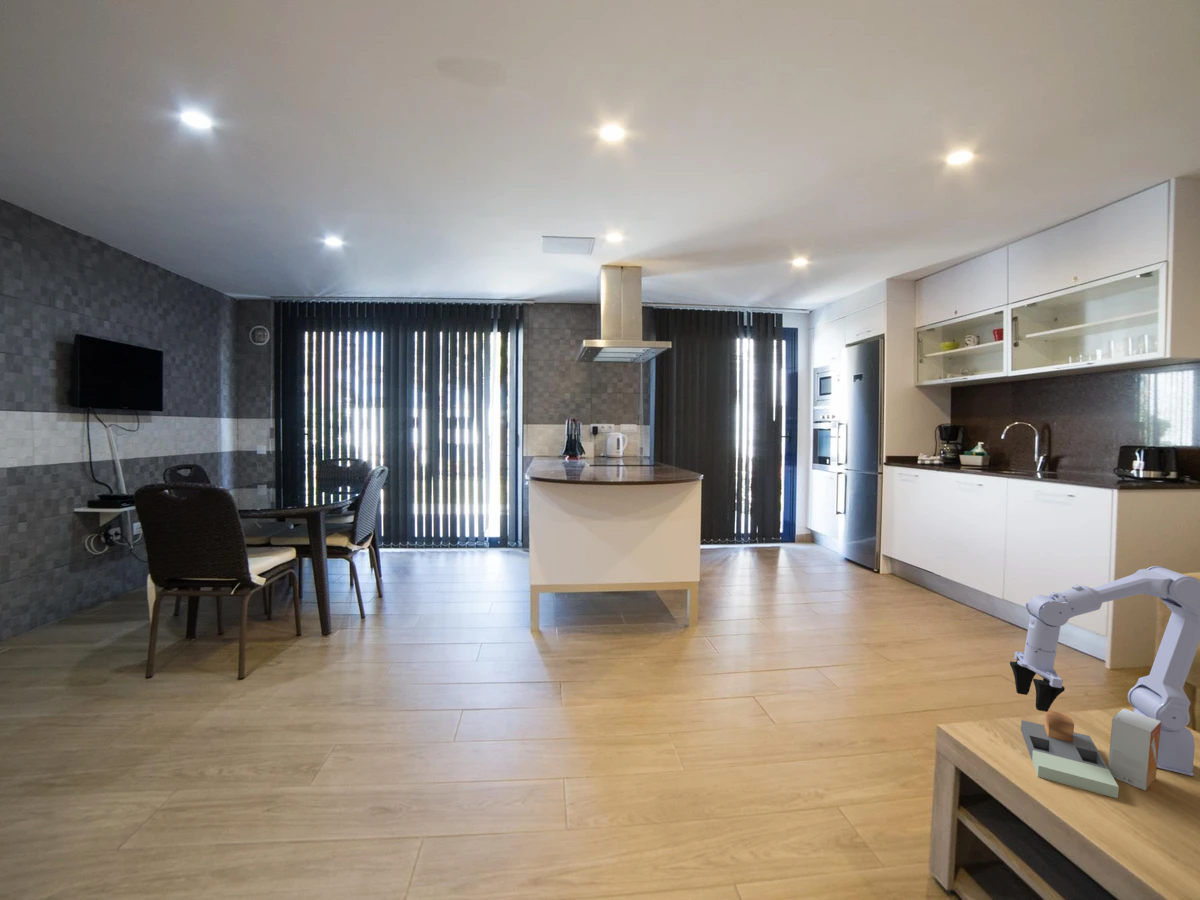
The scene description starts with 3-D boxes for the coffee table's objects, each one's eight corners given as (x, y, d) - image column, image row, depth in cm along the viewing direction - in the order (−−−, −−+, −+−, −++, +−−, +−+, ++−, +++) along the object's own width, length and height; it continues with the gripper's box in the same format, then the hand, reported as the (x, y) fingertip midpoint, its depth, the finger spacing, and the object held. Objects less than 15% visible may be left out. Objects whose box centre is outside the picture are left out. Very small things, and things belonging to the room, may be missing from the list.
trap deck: (1088, 746, 130) (1089, 735, 130) (1117, 798, 112) (1118, 786, 112) (1020, 729, 137) (1021, 719, 137) (1037, 776, 119) (1038, 765, 118)
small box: (1146, 792, 114) (1151, 732, 114) (1106, 775, 120) (1111, 717, 119) (1157, 778, 119) (1162, 720, 118) (1117, 762, 124) (1122, 707, 123)
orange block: (1067, 733, 131) (1069, 714, 131) (1072, 742, 127) (1074, 723, 127) (1044, 727, 133) (1045, 709, 133) (1048, 736, 130) (1049, 718, 129)
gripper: (1004, 632, 137) (996, 684, 138) (1041, 657, 123) (1032, 715, 124) (1035, 636, 136) (1026, 688, 137) (1076, 662, 122) (1066, 720, 123)
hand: (1031, 701), depth 131 cm, fingers open, 7 cm apart
